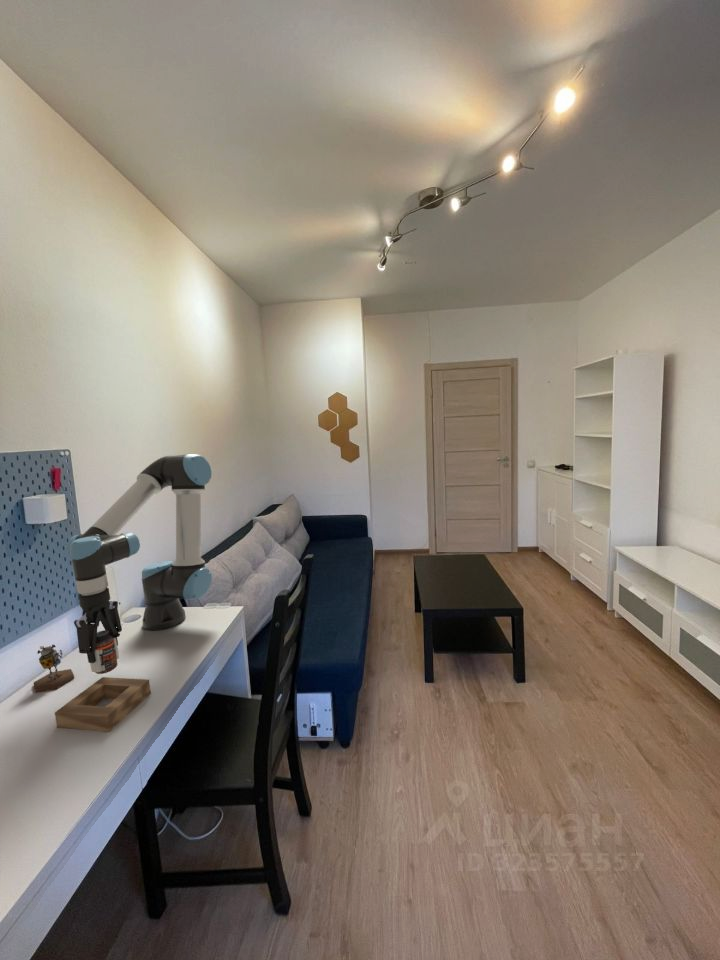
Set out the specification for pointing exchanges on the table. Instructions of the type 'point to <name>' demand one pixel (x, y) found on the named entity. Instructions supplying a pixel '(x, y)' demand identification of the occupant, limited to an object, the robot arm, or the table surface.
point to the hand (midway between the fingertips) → (105, 664)
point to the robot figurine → (53, 678)
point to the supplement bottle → (106, 651)
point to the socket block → (100, 718)
